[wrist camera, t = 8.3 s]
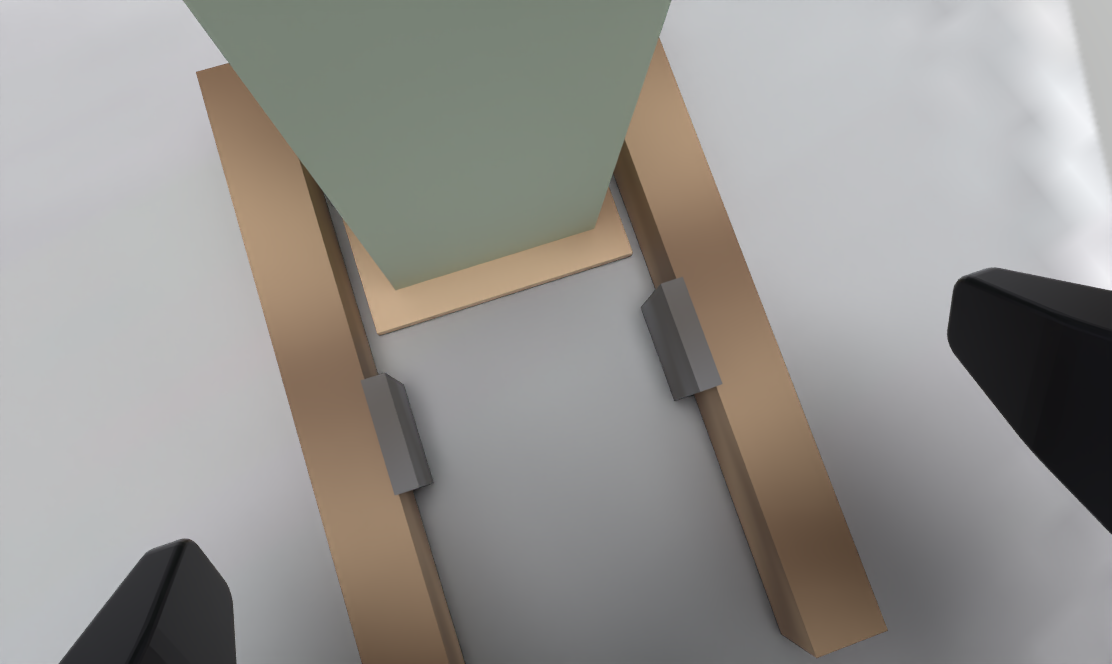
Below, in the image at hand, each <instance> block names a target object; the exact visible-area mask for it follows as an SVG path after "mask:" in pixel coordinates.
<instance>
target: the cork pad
mask: <svg viewBox="0 0 1112 664" xmlns="http://www.w3.org/2000/svg"><path fill="white" fill-rule="evenodd" d="M342 219H343V218H342ZM343 222H344V226H345V229H346V232H347V235H348V239H349V242H350V245H351V249H352V252H353V255H354V259H355V262H356V265H357V268H358V272H359V275H360V278H361V282H362V285H363V288H364V292H365V295H366V298H367V301H368V305H369V308H370V311H371V315H372V318H373V321H374V324H375V328H376V331H377V334H378V335H383V334H386V333H389V332H392V331H396V330H399V329H402V328H405V327H408V326H411V325H415V324H418V323H421V322H424V321H427V320H430V319H434V318H437V317H440V316H443V315H446V314H449V313H453V312H456V311H459V310H462V309H465V308H468V307H471V306H475V305H478V304H481V303H484V302H487V301H490V300H494V299H497V298H500V297H503V296H506V295H509V294H513V293H516V292H519V291H522V290H525V289H528V288H531V287H535V286H538V285H541V284H544V283H547V282H550V281H554V280H557V279H560V278H563V277H566V276H569V275H573V274H576V273H579V272H582V271H585V270H588V269H592V268H595V267H598V266H601V265H604V264H607V263H610V262H614V261H617V260H620V259H623V258H626V257H629V256H631V255H632V253H633V252H632V249H631V246H630V244H629V241H628V238H627V235H626V233H625V230H624V227H623V224H622V222H621V219H620V216H619V213H618V211H617V208H616V205H615V202H614V200H613V197H612V194H611V191H610V188H609V186H608V189H607V192H606V195H605V198H604V201H603V204H602V207H601V210H600V213H599V216H598V219H597V222H596V225H595V228H594V229H592V230H588V231H585V232H582V233H579V234H576V235H572V236H569V237H566V238H563V239H559V240H556V241H553V242H550V243H547V244H543V245H540V246H537V247H534V248H530V249H527V250H524V251H521V252H518V253H514V254H511V255H508V256H505V257H501V258H498V259H495V260H492V261H489V262H485V263H482V264H479V265H476V266H472V267H469V268H466V269H463V270H460V271H456V272H453V273H450V274H447V275H443V276H440V277H437V278H434V279H431V280H427V281H424V282H421V283H418V284H414V285H411V286H408V287H405V288H402V289H398V290H395V289H394V287H393V286H392V285H391V283H390V282H389V281H388V279H387V278H386V277H385V275H384V274H383V272H382V271H381V270H380V268H379V267H378V266H377V264H376V263H375V262H374V260H373V259H372V257H371V256H370V255H369V253H368V252H367V251H366V249H365V248H364V247H363V245H362V244H361V242H360V241H359V240H358V238H357V237H356V236H355V234H354V233H353V232H352V230H351V229H350V227H349V226H348V225H347V223H346V222H345V221H344V219H343Z"/></svg>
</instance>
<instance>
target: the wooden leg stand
mask: <svg viewBox="0 0 1112 664" xmlns="http://www.w3.org/2000/svg"><path fill="white" fill-rule="evenodd" d="M196 74H197V78H198V81H199V85H200V88H201V92H202V95H203V99H204V103H205V106H206V110H207V113H208V117H209V120H210V124H211V128H212V131H213V135H214V138H215V142H216V145H217V149H218V152H219V156H220V160H221V163H222V167H223V170H224V174H225V177H226V181H227V184H228V188H229V192H230V195H231V199H232V202H233V206H234V209H235V213H236V217H237V220H238V224H239V227H240V231H241V234H242V238H243V241H244V245H245V249H246V252H247V256H248V259H249V263H250V266H251V270H252V273H253V277H254V281H255V284H256V288H257V291H258V295H259V298H260V302H261V306H262V309H263V313H264V316H265V320H266V323H267V327H268V330H269V334H270V338H271V341H272V345H273V348H274V352H275V355H276V359H277V362H278V366H279V370H280V373H281V377H282V380H283V384H284V387H285V391H286V395H287V398H288V402H289V405H290V409H291V412H292V416H293V419H294V423H295V427H296V430H297V434H298V437H299V441H300V444H301V448H302V451H303V455H304V459H305V462H306V466H307V469H308V473H309V476H310V480H311V484H312V487H313V491H314V494H315V498H316V501H317V505H318V508H319V512H320V516H321V519H322V523H323V526H324V530H325V533H326V537H327V540H328V544H329V548H330V551H331V555H332V558H333V562H334V565H335V569H336V573H337V576H338V580H339V583H340V587H341V590H342V594H343V597H344V601H345V605H346V608H347V612H348V615H349V619H350V622H351V626H352V629H353V633H354V637H355V640H356V644H357V647H358V651H359V654H360V658H361V662H362V664H465V662H464V659H463V656H462V652H461V649H460V646H459V642H458V639H457V636H456V632H455V629H454V626H453V622H452V619H451V616H450V612H449V609H448V606H447V602H446V599H445V596H444V592H443V589H442V586H441V582H440V579H439V576H438V573H437V569H436V566H435V563H434V559H433V556H432V553H431V549H430V546H429V543H428V539H427V536H426V533H425V529H424V526H423V523H422V519H421V516H420V513H419V509H418V506H417V503H416V499H415V496H414V493H413V490H414V489H417V488H420V487H423V486H426V485H429V484H432V483H433V479H432V476H431V473H430V470H429V466H428V463H427V460H426V457H425V453H424V450H423V447H422V443H421V440H420V437H419V434H418V430H417V427H416V424H415V421H414V417H413V414H412V411H411V407H410V404H409V401H408V398H407V394H406V391H405V388H404V385H403V384H402V383H400V382H399V381H397V380H395V379H394V378H392V377H391V376H389V375H387V374H386V373H382V374H379V375H378V373H377V370H376V366H375V363H374V360H373V357H372V353H371V350H370V347H369V343H368V340H367V337H366V333H365V330H364V327H363V323H362V320H361V317H360V313H359V310H358V307H357V303H356V300H355V297H354V293H353V290H352V287H351V283H350V280H349V277H348V273H347V270H346V267H345V263H344V260H343V257H342V254H341V250H340V247H339V244H338V240H337V237H336V234H335V230H334V227H333V224H332V220H331V217H330V214H329V210H328V207H327V204H326V200H325V197H324V194H323V191H322V189H321V188H320V187H319V185H318V184H317V182H316V181H315V180H314V178H313V177H312V176H311V174H310V173H309V172H308V170H307V169H306V167H305V166H304V165H303V163H302V162H301V161H300V159H299V158H298V157H297V155H296V154H295V152H294V151H293V150H292V148H291V147H290V146H289V144H288V143H287V142H286V140H285V139H284V137H283V136H282V135H281V133H280V132H279V131H278V129H277V128H276V127H275V125H274V124H273V122H272V121H271V120H270V118H269V117H268V116H267V114H266V113H265V112H264V110H263V109H262V107H261V106H260V105H259V103H258V102H257V101H256V99H255V98H254V97H253V95H252V94H251V92H250V91H249V90H248V88H247V87H246V86H245V84H244V83H243V82H242V80H241V79H240V77H239V76H238V75H237V73H236V72H235V71H234V69H233V68H232V67H231V65H230V64H229V63H227V64H223V65H220V66H216V67H212V68H209V69H205V70H201V71H198V72H196ZM613 174H614V176H615V179H616V182H617V185H618V187H619V190H620V193H621V196H622V198H623V201H624V204H625V207H626V209H627V212H628V215H629V218H630V220H631V223H632V226H633V228H634V231H635V234H636V237H637V239H638V242H639V245H640V248H641V250H642V253H643V256H644V259H645V261H646V264H647V267H648V270H649V272H650V275H651V278H652V281H653V283H654V286H655V289H656V290H655V291H654V292H653V294H652V295H651V296H650V297H649V298H648V300H647V301H646V302H645V303H644V304H643V306H642V307H641V309H642V312H643V314H644V317H645V320H646V323H647V326H648V328H649V331H650V334H651V337H652V339H653V342H654V345H655V348H656V351H657V353H658V356H659V359H660V362H661V364H662V367H663V370H664V373H665V376H666V378H667V381H668V384H669V387H670V389H671V392H672V395H673V398H674V400H678V399H681V398H684V397H687V396H690V395H693V394H694V396H695V398H696V401H697V404H698V407H699V409H700V412H701V415H702V418H703V420H704V423H705V426H706V429H707V431H708V434H709V437H710V440H711V442H712V445H713V448H714V451H715V453H716V456H717V459H718V462H719V464H720V467H721V470H722V473H723V475H724V478H725V481H726V483H727V486H728V489H729V492H730V494H731V497H732V500H733V503H734V505H735V508H736V511H737V514H738V516H739V519H740V522H741V525H742V527H743V530H744V533H745V536H746V538H747V541H748V544H749V547H750V549H751V552H752V555H753V558H754V560H755V563H756V566H757V568H758V571H759V574H760V577H761V579H762V582H763V585H764V588H765V590H766V593H767V596H768V599H769V601H770V604H771V607H772V610H773V612H774V615H775V618H776V621H777V623H778V626H779V629H780V632H781V634H782V635H783V636H785V637H786V638H788V639H789V640H791V641H792V642H794V643H795V644H796V645H798V646H799V647H801V648H802V649H804V650H805V651H807V652H808V653H810V654H811V655H813V656H814V657H816V658H818V657H821V656H824V655H826V654H829V653H831V652H834V651H837V650H839V649H842V648H844V647H847V646H849V645H852V644H855V643H857V642H860V641H862V640H865V639H867V638H870V637H873V636H875V635H878V634H880V633H883V632H886V631H888V629H887V627H886V624H885V622H884V619H883V616H882V614H881V611H880V609H879V606H878V603H877V601H876V598H875V596H874V593H873V591H872V588H871V585H870V583H869V580H868V578H867V575H866V572H865V570H864V567H863V565H862V562H861V559H860V557H859V554H858V552H857V549H856V546H855V544H854V541H853V539H852V536H851V534H850V531H849V528H848V526H847V523H846V521H845V518H844V515H843V513H842V510H841V508H840V505H839V502H838V500H837V497H836V495H835V492H834V489H833V487H832V484H831V482H830V479H829V476H828V474H827V471H826V469H825V466H824V464H823V461H822V458H821V456H820V453H819V451H818V448H817V445H816V443H815V440H814V438H813V435H812V432H811V430H810V427H809V425H808V422H807V419H806V417H805V414H804V412H803V409H802V407H801V404H800V401H799V399H798V396H797V394H796V391H795V388H794V386H793V383H792V381H791V378H790V375H789V373H788V370H787V368H786V365H785V362H784V360H783V357H782V355H781V352H780V349H779V347H778V344H777V342H776V339H775V337H774V334H773V331H772V329H771V326H770V324H769V321H768V318H767V316H766V313H765V311H764V308H763V305H762V303H761V300H760V298H759V295H758V292H757V290H756V287H755V285H754V282H753V280H752V277H751V274H750V272H749V269H748V267H747V264H746V261H745V259H744V256H743V254H742V251H741V248H740V246H739V243H738V241H737V238H736V235H735V233H734V230H733V228H732V225H731V222H730V220H729V217H728V215H727V212H726V210H725V207H724V204H723V202H722V199H721V197H720V194H719V191H718V189H717V186H716V184H715V181H714V178H713V176H712V173H711V171H710V168H709V165H708V163H707V160H706V158H705V155H704V153H703V150H702V147H701V145H700V142H699V140H698V137H697V134H696V132H695V129H694V127H693V124H692V121H691V119H690V116H689V114H688V111H687V108H686V106H685V103H684V101H683V98H682V95H681V93H680V90H679V88H678V85H677V83H676V80H675V77H674V75H673V72H672V70H671V67H670V64H669V62H668V59H667V57H666V54H665V51H664V49H663V46H662V44H661V41H660V38H658V41H657V44H656V47H655V50H654V53H653V56H652V59H651V62H650V65H649V68H648V71H647V74H646V77H645V80H644V83H643V86H642V89H641V92H640V95H639V98H638V101H637V104H636V107H635V109H634V112H633V115H632V118H631V121H630V124H629V127H628V130H627V133H626V136H625V139H624V142H623V145H622V148H621V151H620V154H619V157H618V160H617V163H616V166H615V169H614V172H613Z"/></svg>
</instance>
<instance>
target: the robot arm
mask: <svg viewBox="0 0 1112 664" xmlns="http://www.w3.org/2000/svg"><path fill="white" fill-rule="evenodd" d="M947 337H948V342H949V345H950V347H951V349H952V351H953V353H954V354H955V356H956V357H957V358H958V360H959V361H960V362H961V363H962V365H963V366H964V367H965V368H966V370H967V371H968V372H969V373H970V375H971V376H972V377H973V379H974V380H975V381H976V382H977V384H978V385H979V386H980V387H981V389H982V390H983V391H984V392H985V394H986V395H987V396H988V398H989V399H990V400H991V401H992V403H993V404H994V405H995V406H996V408H997V409H998V410H999V411H1000V413H1001V414H1002V415H1003V417H1004V418H1005V419H1006V420H1007V422H1008V423H1009V424H1010V425H1011V427H1012V428H1013V429H1014V430H1015V432H1016V433H1017V434H1018V435H1019V437H1020V438H1021V439H1022V440H1023V441H1024V443H1025V444H1026V445H1027V446H1028V447H1029V449H1030V450H1031V451H1032V452H1033V453H1034V454H1035V455H1036V456H1037V457H1038V459H1039V460H1040V461H1041V462H1042V463H1043V464H1044V465H1045V466H1046V467H1047V468H1048V469H1049V470H1050V471H1051V472H1052V473H1053V474H1054V475H1055V477H1056V478H1057V479H1058V480H1059V481H1060V482H1061V483H1062V484H1063V485H1064V486H1065V487H1066V488H1067V489H1068V490H1069V491H1070V492H1071V493H1072V494H1073V495H1074V496H1075V497H1076V498H1077V499H1078V500H1079V501H1080V502H1081V503H1082V504H1083V505H1084V506H1085V507H1086V509H1087V510H1088V511H1089V512H1090V513H1091V514H1092V515H1093V516H1094V517H1095V518H1096V519H1097V520H1098V521H1099V522H1100V523H1101V524H1102V525H1103V526H1104V527H1105V528H1106V529H1107V530H1108V531H1109V532H1110V533H1111V534H1112V291H1110V290H1105V289H1100V288H1096V287H1091V286H1086V285H1081V284H1076V283H1071V282H1066V281H1061V280H1056V279H1051V278H1046V277H1041V276H1036V275H1031V274H1026V273H1021V272H1016V271H1011V270H1006V269H1001V268H986V269H983V270H980V271H977V272H974V273H971V274H968V275H965V276H963V277H961V278H960V279H958V281H957V282H956V284H955V285H954V289H953V294H952V301H951V308H950V315H949V322H948V329H947ZM59 664H236V648H235V631H234V614H233V601H232V596H231V593H230V590H229V587H228V585H227V583H226V582H225V580H224V579H223V577H222V576H221V575H220V573H219V572H218V571H217V570H216V568H215V567H214V566H213V564H212V563H211V562H210V560H209V559H208V558H207V556H206V555H205V554H204V553H203V551H202V550H201V549H200V547H199V546H198V545H197V544H196V543H195V542H194V541H192V540H190V539H180V540H177V541H174V542H171V543H168V544H165V545H162V546H159V547H156V548H153V549H151V550H149V551H148V552H147V553H145V555H144V556H143V557H142V558H141V559H140V560H139V562H138V563H137V564H136V565H135V567H134V568H133V569H132V571H131V572H130V573H129V574H128V576H127V577H126V578H125V579H124V581H123V582H122V583H121V585H120V586H119V587H118V588H117V590H116V591H115V592H114V594H113V595H112V596H111V597H110V599H109V600H108V601H107V602H106V604H105V605H104V606H103V608H102V609H101V610H100V611H99V613H98V614H97V615H96V617H95V618H94V619H93V620H92V622H91V623H90V624H89V625H88V627H87V628H86V629H85V631H84V632H83V633H82V634H81V636H80V637H79V638H78V640H77V641H76V642H75V643H74V645H73V646H72V647H71V648H70V650H69V651H68V652H67V654H66V655H65V656H64V657H63V659H62V660H61V661H60V663H59Z"/></svg>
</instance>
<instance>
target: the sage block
mask: <svg viewBox="0 0 1112 664" xmlns="http://www.w3.org/2000/svg"><path fill="white" fill-rule="evenodd" d="M183 1H184V2H185V4H186V5H187V7H188V8H189V9H190V11H191V12H192V13H193V15H194V16H195V17H196V19H197V20H198V22H199V23H200V24H201V26H202V27H203V28H204V30H205V31H206V32H207V34H208V35H209V37H210V38H211V39H212V41H213V42H214V43H215V45H216V46H217V47H218V49H219V50H220V52H221V53H222V54H223V56H224V57H225V58H226V60H227V61H228V62H229V64H230V65H231V67H232V68H233V69H234V71H235V72H236V73H237V75H238V76H239V77H240V79H241V80H242V82H243V83H244V84H245V86H246V87H247V88H248V90H249V91H250V92H251V94H252V95H253V97H254V98H255V99H256V101H257V102H258V103H259V105H260V106H261V107H262V109H263V110H264V112H265V113H266V114H267V116H268V117H269V118H270V120H271V121H272V122H273V124H274V125H275V127H276V128H277V129H278V131H279V132H280V133H281V135H282V136H283V137H284V139H285V140H286V142H287V143H288V144H289V146H290V147H291V148H292V150H293V151H294V152H295V154H296V155H297V157H298V158H299V159H300V161H301V162H302V163H303V165H304V166H305V167H306V169H307V170H308V172H309V173H310V174H311V176H312V177H313V178H314V180H315V181H316V182H317V184H318V185H319V187H320V188H321V189H322V191H323V192H324V193H325V195H326V196H327V197H328V199H329V200H330V202H331V203H332V204H333V206H334V207H335V208H336V210H337V211H338V212H339V214H340V215H341V217H342V218H343V219H344V221H345V222H346V223H347V225H348V226H349V227H350V229H351V230H352V232H353V233H354V234H355V236H356V237H357V238H358V240H359V241H360V242H361V244H362V245H363V247H364V248H365V249H366V251H367V252H368V253H369V255H370V256H371V257H372V259H373V260H374V262H375V263H376V264H377V266H378V267H379V268H380V270H381V271H382V272H383V274H384V275H385V277H386V278H387V279H388V281H389V282H390V283H391V285H392V286H393V287H394V289H395V290H398V289H402V288H405V287H408V286H411V285H414V284H418V283H421V282H424V281H427V280H431V279H434V278H437V277H440V276H443V275H447V274H450V273H453V272H456V271H460V270H463V269H466V268H469V267H472V266H476V265H479V264H482V263H485V262H489V261H492V260H495V259H498V258H501V257H505V256H508V255H511V254H514V253H518V252H521V251H524V250H527V249H530V248H534V247H537V246H540V245H543V244H547V243H550V242H553V241H556V240H559V239H563V238H566V237H569V236H572V235H576V234H579V233H582V232H585V231H588V230H592V229H594V228H595V225H596V222H597V219H598V216H599V213H600V210H601V207H602V204H603V201H604V198H605V195H606V192H607V189H608V186H609V184H610V181H611V178H612V175H613V172H614V169H615V166H616V163H617V160H618V157H619V154H620V151H621V148H622V145H623V142H624V139H625V136H626V133H627V130H628V127H629V124H630V121H631V118H632V115H633V112H634V109H635V107H636V104H637V101H638V98H639V95H640V92H641V89H642V86H643V83H644V80H645V77H646V74H647V71H648V68H649V65H650V62H651V59H652V56H653V53H654V50H655V47H656V44H657V41H658V38H659V35H660V32H661V30H662V27H663V24H664V21H665V18H666V15H667V12H668V9H669V6H670V3H671V0H183Z"/></svg>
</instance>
